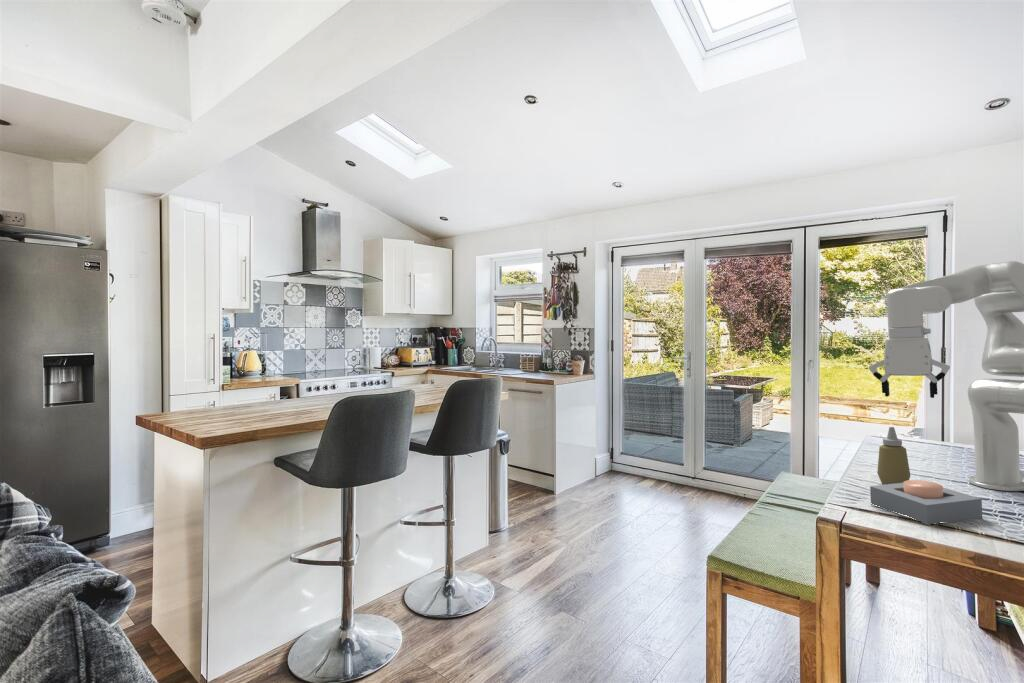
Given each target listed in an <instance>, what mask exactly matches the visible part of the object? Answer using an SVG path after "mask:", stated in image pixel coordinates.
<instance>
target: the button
mask: <svg viewBox="0 0 1024 683" xmlns="http://www.w3.org/2000/svg"><path fill="white" fill-rule="evenodd" d="M903 484H904V493H907V494H911V495H914V496H917V497H920V498H923V499H931V498H940V497H943V488H944V486H943V485H942V484H940V483H937V482H933V481H927V480H918V479H917V480H916V479H909V480H907V481H904V482H903Z"/></svg>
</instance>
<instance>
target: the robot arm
mask: <svg viewBox="0 0 1024 683" xmlns="http://www.w3.org/2000/svg"><path fill="white" fill-rule="evenodd" d="M973 299H974V300H973ZM970 300H973V301H974V305H975V307H976V308H977V310H978V311H979V313H980V315H981V317H982V318H983V320H984V322H985V325H986V328H987V329H986V330H987V332H986V338H985V341H984V347H983V353H982V358H981V367H982V370H983V371H984V372H985V373H986V374H988V375H993V376H998V377H1015V378H1019V377H1020V378H1024V322H1022V320H1021V319H1019V318H1018V317H1017V315H1015V314H1014V313H1024V263H1022V262H1020V261H1013V260H1012V261H1004V262H995V263H987V264H986V263H985V264H980V265H975V266H972V267H969V268H965V269H963V270H959V271H958V272H957V271H956V272H954V273H951V274H947V275H943V276H939V277H935V278H932V279H928V280H924V281H919V282H915V283H911V284H908V285H905V286H901V287H899V288H895V289H891V290H889V291H888V292H887V293H886V309H887V310H886V312H887V313H886V314H887V326H888V328H887V329H888V339H885V343H884V353H883V357H884V358H883V359H882V360H880V361H878V362H875V363H874V364H871V365H869V366H868V370H870V372H871V374H872V375H873V377H875V378H876V379H877V380H878V381H880V382H881V392H882V394H884V397H886V398H888V397H889V396H890V394H891V393H890V382H889V380H888V379H889V378H890V377H891V376H902V377H903V376H904V377H907V376H909V377H913V376H915V377H916V376H917V377H918V376H920V377H922V376H925V377H926V378H928V380H929V381H930V382H929V397H930V398H931V399H934V398H935V395H938V382H939V381H941V380H942V379H943V378H944V377H945V376H946V375H947V373H948V371H949V370H950V368H951V366H950V364H949V365H948V364H947V363H943V362H940V361H938V360H935V359H933V358H932V351H931V345H930V340H929V338H928V337H925V336H926V335H929V334H932V332H931V331H932V329H931V328H925V327H924V315H929V314H931V315H932V314H939V313H942V312H944V311H946V310H948V308H950V307H951V305H953V304H954V305H955V304H961V303H964V302H967V301H970ZM882 366H883V367H884V375H882V374H881V373H880V372H878V370H877V368H880V367H882ZM933 366H935V367H938V368H940V369H941V370H940V372H938V374H936V375H934V373H933ZM967 398H968V401H969V405H970V408H971V412H972V413H971V414H972V419H973V423H972V424H973V441H974V442H973V443H974V467H975V468H974V469H975V470H974V471H975V472H974V474H975V475H972V476H970V477H968V482H969V483H970V484H972V485H974V486H976V487H980V488H984V489H989V490H995V491H1005V492H1023V491H1024V481H1023V479H1024V470H1021V466H1020V464H1021V463H1020V439H1019V438H1020V437H1019V434H1020V433H1019V426H1018V424H1017V422H1016V421H1015V420H1014V418H1013V416H1012V415H1011V414H1018V415H1019V414H1021V415H1024V380H1021V379H1020V380H1019V379H1005V378H981V379H977V380H975V381H973V382H971V384H969V386H968V389H967Z"/></svg>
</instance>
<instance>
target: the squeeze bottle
mask: <svg viewBox="0 0 1024 683" xmlns="http://www.w3.org/2000/svg"><path fill="white" fill-rule="evenodd" d="M878 449H879V450H878V460H877V475H878V478H879V481H880V483H881V485H886V484H895V483H903V482H904V481H907V480H911V471H910V464H909V459H908V452H907V448H906V447H904V446H903V439H901V438H899V437H898V436H897V433H896V430H895V427H893V426H889V427H888V431H887V436H886V437H883V438H882V444H881V445H879V448H878Z"/></svg>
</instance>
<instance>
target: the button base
mask: <svg viewBox="0 0 1024 683" xmlns="http://www.w3.org/2000/svg"><path fill="white" fill-rule="evenodd" d="M869 489H870V490H869V491H870V504H871V503H872V504H874V505H877V506H880V507H882V508H885V509H887V510H886V511H888V510H890V511H894V512H897V513H900V514H903V515H907V516H909V517H912V518H914V519H916V520H919V521H921V522H922V523H925V524H927V525H926V526H930V525H929V524H934V523H940V522H951V523H957V522H956V521H959V522H966V521H965V520H967V521H973V520H981V519H983V501H982V500H983V499H982V498H981V497H977V496H974V495H971V494H967V493H964V492H961V491H956V490H953V489H950V488H946V487H943V497H940V498H931V499H923V498H920V497H917V496H914V495H911V494H907V493H904V484H903V483H895V484H886V485H882V484H878V485H870V487H869ZM872 504H871V505H872ZM874 505H873V506H874ZM877 506H876V507H877ZM880 507H879V508H880ZM882 508H881V509H882ZM885 509H884V510H885ZM890 511H889V512H890ZM922 523H921V524H922ZM925 524H924V525H925Z"/></svg>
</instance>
